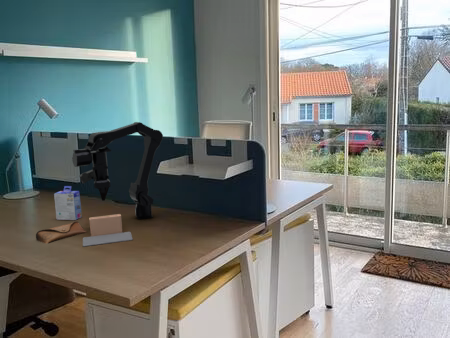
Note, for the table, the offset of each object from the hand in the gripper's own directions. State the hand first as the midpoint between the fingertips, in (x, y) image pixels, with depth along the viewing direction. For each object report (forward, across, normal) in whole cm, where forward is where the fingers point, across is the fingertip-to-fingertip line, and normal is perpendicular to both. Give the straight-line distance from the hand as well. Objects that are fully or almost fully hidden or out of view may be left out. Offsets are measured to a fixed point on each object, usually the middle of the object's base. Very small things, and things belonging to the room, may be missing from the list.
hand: (103, 200), depth 185 cm
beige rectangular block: (+11, +11, 0) cm, 16 cm away
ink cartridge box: (+11, -18, -15) cm, 26 cm away
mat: (+11, +18, 0) cm, 21 cm away
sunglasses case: (+12, +7, -17) cm, 21 cm away
